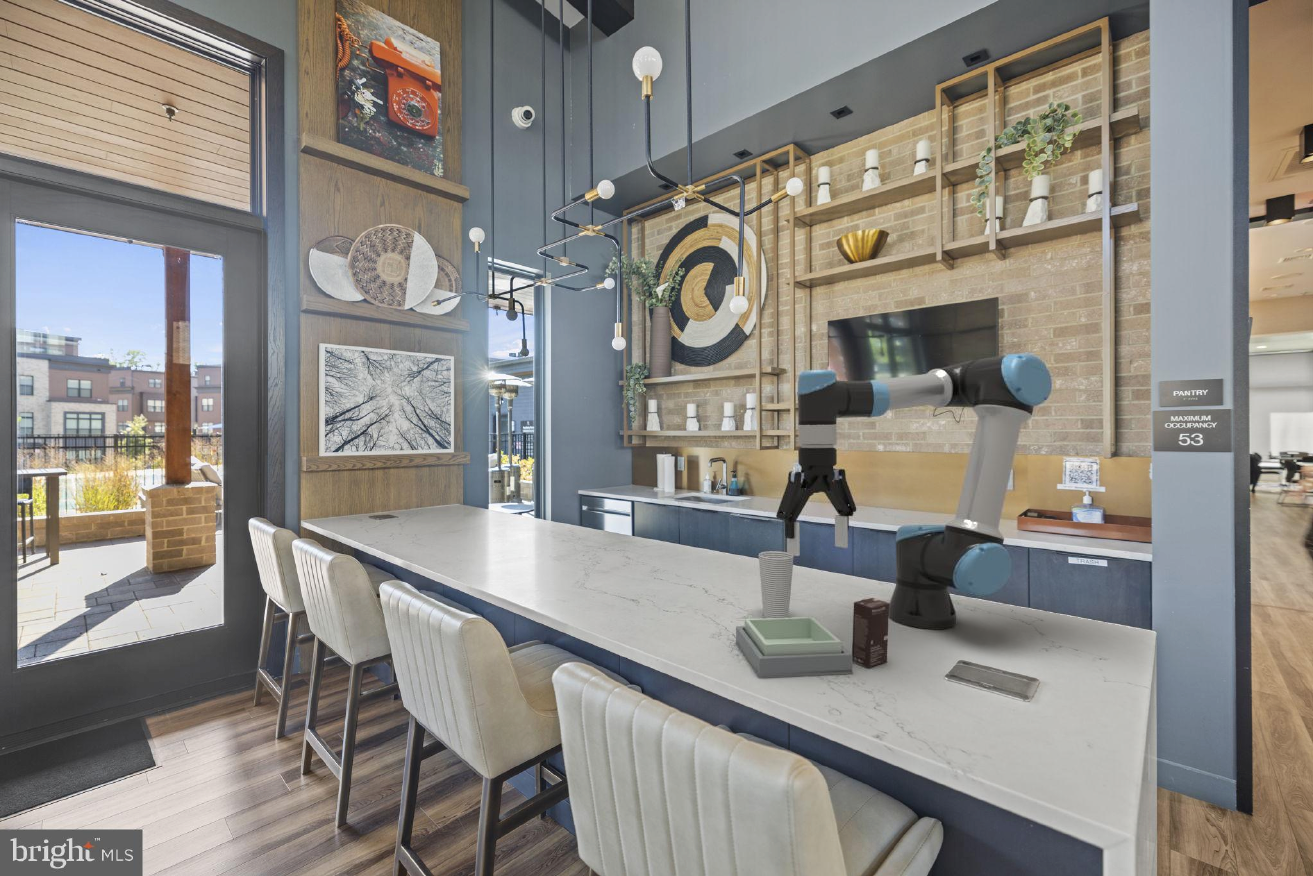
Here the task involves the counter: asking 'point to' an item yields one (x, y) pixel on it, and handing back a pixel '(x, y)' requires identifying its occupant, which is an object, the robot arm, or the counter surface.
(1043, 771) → the counter surface
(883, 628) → the box
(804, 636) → the crates
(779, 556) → the cup
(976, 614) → the counter surface
